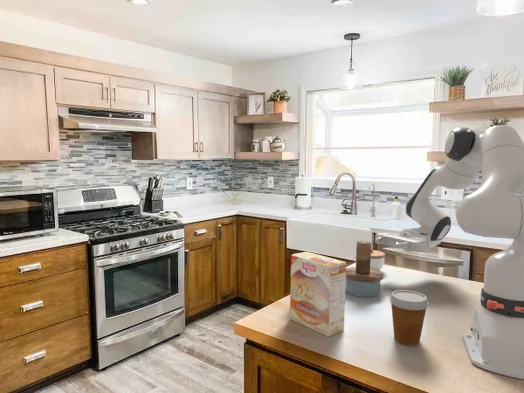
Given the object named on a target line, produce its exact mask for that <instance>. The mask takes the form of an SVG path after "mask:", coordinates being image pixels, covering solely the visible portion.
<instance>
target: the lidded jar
mask: <svg viewBox="0 0 524 393" xmlns="http://www.w3.org/2000/svg"><path fill="white" fill-rule="evenodd" d="M385 257H386V253H385V252H383V251H380V250H374V249H373V248H371V262H370V268H371V269H375V270H378V271H380V270H382V269H383V267H384V265H385Z"/></svg>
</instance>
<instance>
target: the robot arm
mask: <svg viewBox="0 0 524 393" xmlns="http://www.w3.org/2000/svg"><path fill="white" fill-rule="evenodd" d="M444 153H445V155H446V157H447V158H446V160H445V162H444V164H443V165H441V166H436V167H435V168H434V169H432V170H431V171H430V172H429V173H428V175H427V176H426V178H424V180H423V181H422V183H421V184H420V186H419V188H418V189H417V190H416V192H415V193H414V194H413V196H411V198H409V200H408V201H407V203H406V205H405V214H406V215H407V216H408V217H409V218H411V219H412V220H413V221H415V222H416V223H417V224H418V225H419V227H414V228H413V227H412V228H404V229H403V230H401V231H400V232H399V233H393V232H377V233H375V237H374V238H375V240H374V243H375V244H379V245H380V244H381V245H385V246H390V247H394V248H396V249H400V250H401V249H402V250H403V251H405V252H409V253H410V252H416V253H429V252H430V251H431V249H432V248H435V247H436V246H439V245H440V244H441V242H442V241H443V239H444V238H445V237H446V236H447V235H448V233H449V232H450V230H451V227H452V220H451V219H452V218H451V217H450V216H449V215H448V214H447V213H446V212H444V211H443V210H442V209H441V208H439V207H438V206H437V205H435V203H433V202H432V201H431V199H430V196H431V195H432V194H433V192H434V190H436V189H437V187H438V186H439V187H443V188H446V189H448V190H449V189H450V190H462V189H466V188H468V187H470V186H471V185H472V184H473V182H474V181H475V180H476V179H477V176H478V174H479V173H480V172H481V182H480V185H479V186H478V188H477V189H475V191H473V192H471V193H470V194H468V195H466V196H464V197H463V198H461V200H460V202H459V203H458V205H457V207H456V210H455V218H456V222H457V224H458V226H459V228H460V229H461V230H462V232H464V233H467V234H468V235H469V234H471V235H473V236H478V237H483V238H494V239H509V240H513V241H512V242H511V244H510V245H509V246H508V247H507V248H506V249H504V250H501V251H498V252H495V253H493V254H492V255H490V256H489V257H488V259H486V260H485V264H484V277H483V287H482V288H481V292H480V296H479V297H480V303H479V305H478V306H475V307H474V308H473V312H472V313H473V314H472V321H471V322H472V323H471V327H470V331H471V332H465V333H463V335H462V340H463V343H464V347H465V348H466V351H467V354H468V356H469V360H470V362H471V364H473V365H475V366H476V367H479V368H481V369H483V370H487V371H490V372H492V373H496V374H499V375H503V376H506V377H511V378H515V379H520V380H524V194H518V193H520V192H521V191H523V190H524V142H523V140H522V138H521V136H520V134H519V133H518V131H517V130H516V129H515V128H513V127H512V126H510V125H506V124H499V125H494V126H491V127H489V128H488V129H480V128H469V127H456V128H454V129H453V130H451V131H450V132H449V134H448V135H447V137H446V139H445V144H444Z"/></svg>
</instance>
